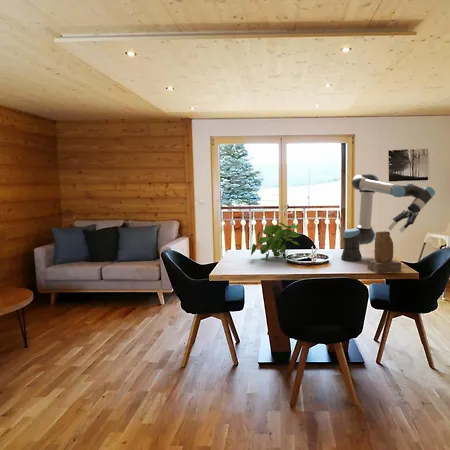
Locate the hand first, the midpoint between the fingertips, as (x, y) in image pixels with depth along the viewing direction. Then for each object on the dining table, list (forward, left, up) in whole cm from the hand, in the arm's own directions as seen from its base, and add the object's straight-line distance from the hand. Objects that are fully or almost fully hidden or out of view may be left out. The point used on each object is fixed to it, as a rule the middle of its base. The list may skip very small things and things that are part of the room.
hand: (394, 230), depth 271 cm
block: (0, -8, -21) cm, 22 cm away
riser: (0, -8, -27) cm, 28 cm away
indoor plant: (-60, -64, -27) cm, 91 cm away
